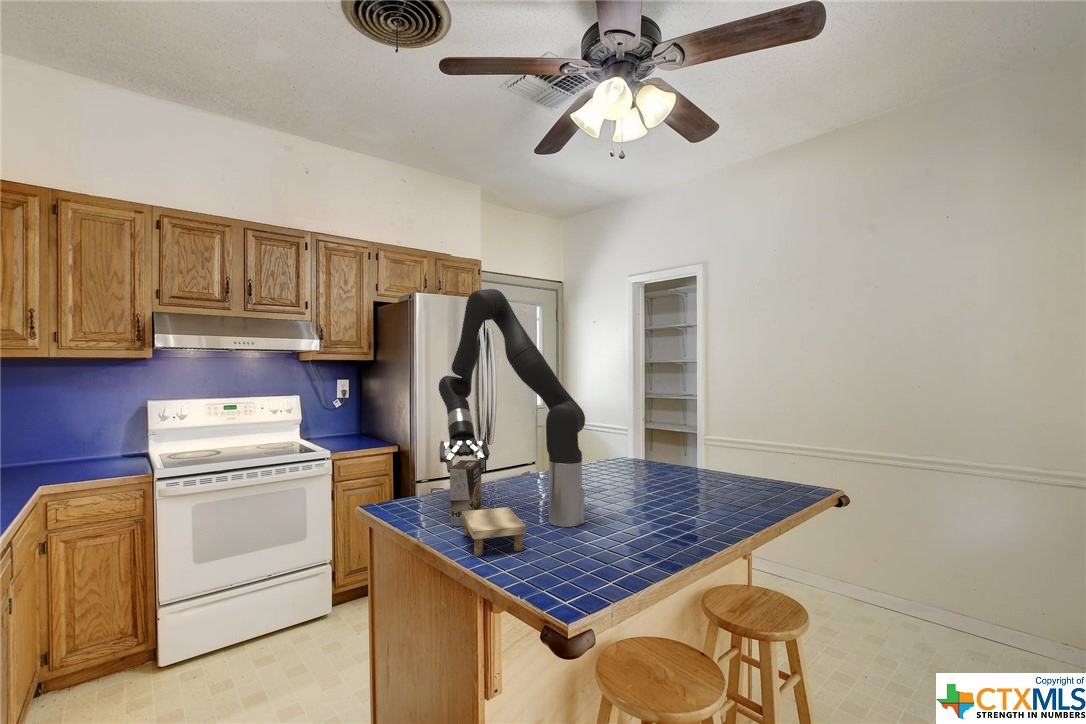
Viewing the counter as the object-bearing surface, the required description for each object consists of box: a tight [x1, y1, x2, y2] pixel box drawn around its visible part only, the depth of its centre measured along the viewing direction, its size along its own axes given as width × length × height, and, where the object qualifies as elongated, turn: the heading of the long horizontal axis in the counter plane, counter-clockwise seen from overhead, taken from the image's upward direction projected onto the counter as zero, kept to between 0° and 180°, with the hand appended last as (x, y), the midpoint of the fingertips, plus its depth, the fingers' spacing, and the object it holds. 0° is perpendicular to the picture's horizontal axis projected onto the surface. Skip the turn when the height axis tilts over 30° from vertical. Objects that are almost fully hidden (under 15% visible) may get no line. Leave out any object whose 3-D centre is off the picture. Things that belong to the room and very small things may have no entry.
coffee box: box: [449, 459, 483, 527], centre depth 140 cm, size 9×6×16 cm
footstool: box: [462, 506, 527, 557], centre depth 124 cm, size 13×17×6 cm
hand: (466, 472), depth 143 cm, fingers open, 8 cm apart
